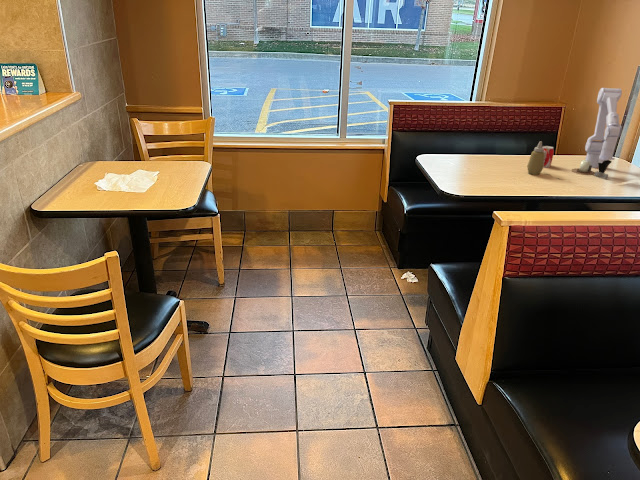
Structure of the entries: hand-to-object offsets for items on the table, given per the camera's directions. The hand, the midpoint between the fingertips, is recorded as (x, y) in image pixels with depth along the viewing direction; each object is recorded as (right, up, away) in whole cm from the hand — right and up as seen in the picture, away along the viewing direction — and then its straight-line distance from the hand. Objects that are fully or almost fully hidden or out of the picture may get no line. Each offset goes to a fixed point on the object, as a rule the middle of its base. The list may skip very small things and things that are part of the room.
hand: (601, 173), depth 253 cm
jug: (-6, +2, +7) cm, 9 cm away
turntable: (-4, -1, +4) cm, 6 cm away
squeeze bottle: (-33, +1, +7) cm, 34 cm away
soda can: (-23, +6, +17) cm, 29 cm away
